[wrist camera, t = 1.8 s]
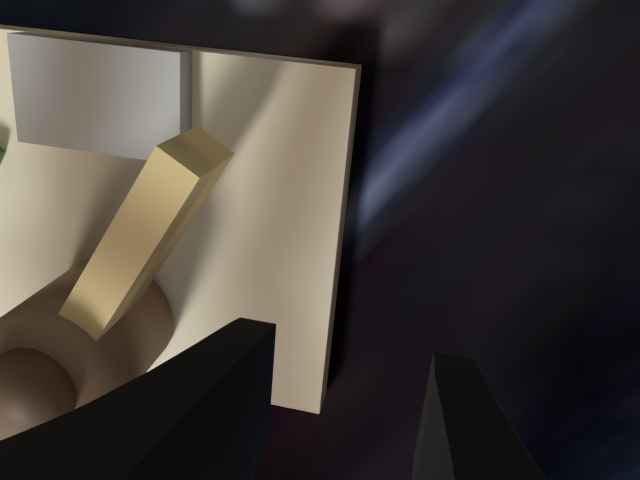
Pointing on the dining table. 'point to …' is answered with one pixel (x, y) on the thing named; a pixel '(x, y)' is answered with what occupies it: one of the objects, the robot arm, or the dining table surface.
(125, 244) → the knob
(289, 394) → the tuner board
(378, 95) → the dining table surface
